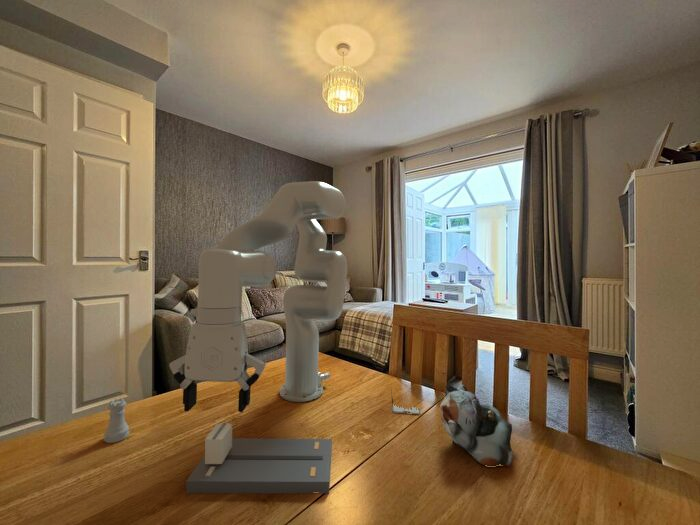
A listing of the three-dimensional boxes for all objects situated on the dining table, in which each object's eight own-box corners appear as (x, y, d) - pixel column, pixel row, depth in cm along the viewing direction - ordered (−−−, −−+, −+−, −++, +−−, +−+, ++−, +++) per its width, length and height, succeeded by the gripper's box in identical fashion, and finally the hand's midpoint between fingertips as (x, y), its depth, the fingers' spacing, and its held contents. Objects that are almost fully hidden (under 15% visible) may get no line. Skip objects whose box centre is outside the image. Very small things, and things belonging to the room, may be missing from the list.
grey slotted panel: (186, 492, 51) (186, 480, 51) (216, 447, 63) (216, 437, 63) (329, 493, 51) (329, 481, 51) (331, 448, 63) (331, 438, 63)
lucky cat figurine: (511, 480, 55) (476, 413, 55) (451, 476, 62) (420, 417, 62) (519, 422, 67) (490, 366, 67) (468, 424, 74) (441, 374, 74)
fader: (204, 463, 54) (205, 438, 54) (216, 446, 59) (216, 422, 59) (221, 464, 54) (222, 438, 54) (232, 446, 59) (232, 422, 59)
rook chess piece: (115, 445, 63) (115, 407, 63) (98, 442, 64) (98, 404, 63) (134, 433, 67) (135, 397, 67) (118, 430, 68) (118, 395, 68)
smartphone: (415, 389, 92) (421, 413, 77) (415, 391, 92) (421, 416, 77) (391, 387, 93) (392, 411, 78) (391, 389, 93) (392, 414, 78)
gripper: (160, 318, 52) (156, 417, 52) (261, 320, 52) (258, 419, 52) (183, 311, 60) (180, 398, 59) (271, 313, 60) (268, 400, 60)
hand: (216, 408), depth 56 cm, fingers open, 9 cm apart
